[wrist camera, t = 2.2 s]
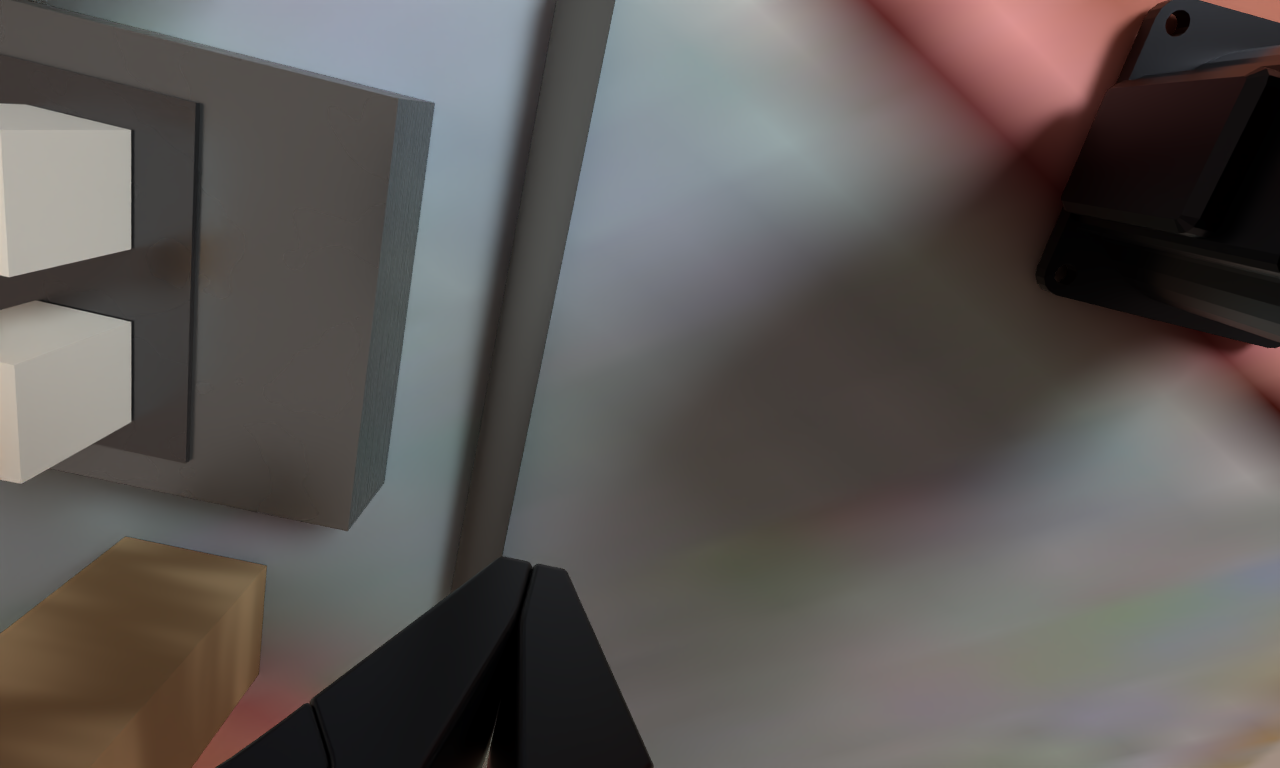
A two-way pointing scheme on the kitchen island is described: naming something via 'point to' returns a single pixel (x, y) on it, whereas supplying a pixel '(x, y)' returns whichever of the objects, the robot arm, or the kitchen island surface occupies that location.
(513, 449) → the dark gray rod
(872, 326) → the kitchen island surface
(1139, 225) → the robot arm
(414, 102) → the breaker panel
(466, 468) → the kitchen island surface
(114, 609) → the oak post
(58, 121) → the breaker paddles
